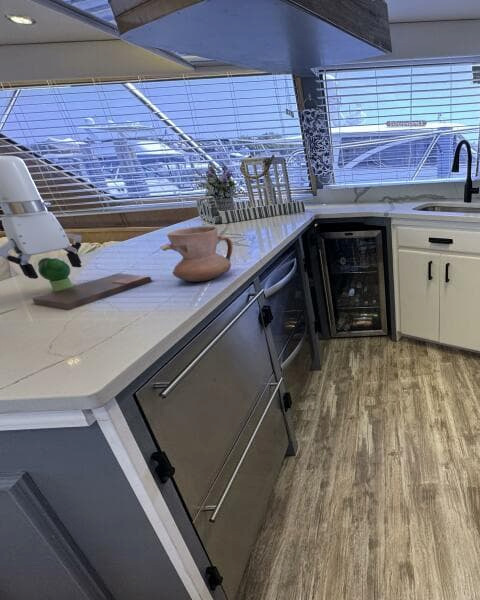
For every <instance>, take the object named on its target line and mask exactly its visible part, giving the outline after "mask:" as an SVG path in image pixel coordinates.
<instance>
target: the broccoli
mask: <svg viewBox="0 0 480 600" xmlns="http://www.w3.org/2000/svg"><path fill="white" fill-rule="evenodd" d="M37 267H38V269H37V270H38V271H37V272H38V274H39V275H40V276H41V277H42V278H43V279H45V280H47V281H48V282H49V284H50V286H51V288H52V290H53V292H56V291H59V290H63V289H66V288H69V287H73V286H74V285H73V282H72V280H71V278H70V277H69V276H70V274H71V267H70V266H69V265H68V263H66V262H65V261H64V260H63V259H61V258H57V257H55V258H54V257H53V258H52V257H43V258H41V259H39V261H38V262H37Z"/></svg>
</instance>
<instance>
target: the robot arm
mask: <svg viewBox="0 0 480 600" xmlns="http://www.w3.org/2000/svg"><path fill="white" fill-rule="evenodd" d="M49 207H52V204H51V202H50V201H45V200H44V199H43V198H42V196H41V194H40V192H39V191H38V188H37V186H36V184H35V182H34V180H33V178H32V176H31V173H30V171H29V169H28V167H27V165H26V163H25V161H24V160H23V159H22V158H21V157H18V156H15V155H0V208H1V211H2V213H3V214H4V216H0V219H1V224H2V227H3V231H4V233H5V236H6V238H7V241H8V242H6V243H4V244H3V245H2V246H0V257H1V258H3V259H4V260H6V261H8V262H11V263H14V264H16V265H19V267H20V269H21V271H22V273H23V275H24V276H25V277H27V278H28V279H31V280H36V279H38V278H39V274H37V271H36V270H35V268H34V266H33V264H32V263H29V261H30V260H31V257H32V256H35V255H41V254H46V253H51V252H54V251H55V252H56V251H59V250H60V251H61V250H63V251H65V252H67V253H66V257H67V259H68V261H69V263H70V265H71V267H72V268H82V261H81V259H80V256H79V255H78V254H79V251H80V248H81V247H82V240H83V236H82V235H80V234H76V233H70V232H66V231H65V230H64V228H63V227H62V225H61V224H60V222H59V220H58V219H57V218H56V217H55V215H54V214H53V213H52V211H48V208H49ZM69 239H72V241H73V242H72V244H71V242H70V240H69ZM11 250H12V251H13V252H14V253H15V254H16V255H17V256H14V255H11V254H10V253H9V252H10V251H11Z"/></svg>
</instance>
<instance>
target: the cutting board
mask: <svg viewBox="0 0 480 600" xmlns="http://www.w3.org/2000/svg"><path fill="white" fill-rule="evenodd" d="M151 282H153V280H152V277H151V276H147V275H138V274H137V275H136V274H129V273H120V272H119V273H115V274H112V275H111V274H110V275H108V276H104V277H100V278H97V279H94V280H89V281H87V282H83V283H80V284H76V285H73V287H69V288H66V289H63V290H59V291H56V292H55V291H53V292H48V293H46V294H43V295H38V296H35V297H32V298H31V299H32V302H33V303H34V304H35V305H40V306H45V307H52V308H58V309H64V310H72V309H75V308H78V307H81V306H84V305H87V304H89V303H93V302H95V301H98V300H101V299H104V298H108V297H110V296H113V295H116V294H119V293H123V292H125V291H128V290H131V289H135V288H138V287H140V286H143V285H146V284H149V283H151Z"/></svg>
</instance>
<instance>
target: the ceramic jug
mask: <svg viewBox="0 0 480 600" xmlns="http://www.w3.org/2000/svg"><path fill="white" fill-rule="evenodd" d="M166 237H167V239H168V241H169V242H170V244H169V243H166V244H163V245H161V246H160V249H161V250H162V252H166V251H168V250H170V251H173V252H178V253H179V254H180V255H181V257H182V259H180V261H179V262H178V263H176V265H175V266H174V269H173V270H172V275H173V276H174V277H176V278H177V279H179V280H181V281H184V282H190V283H191V282H192V283H193V282H194V283H198V282H205V281H206V282H207V281H211V280H214V279H217V278H219V277H221V276H224V275H225V274H227V273H228V272H229V271H230V270H231V268H232V263H231V256H232V254H233V250H234V245H233V241H232V239H231V238H230V237H229V236H227V235H219V232H218V227H217V226H215V225H198V226H189V227H184V228H183V227H182V228H178V229H174V230H170V231H168V232H166ZM221 241H225V242H226V245H227V251H226V255H225V256H223V255H221V254H219V253H218V252H216V250H217V246H218V245H219V243H220V242H221Z"/></svg>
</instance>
